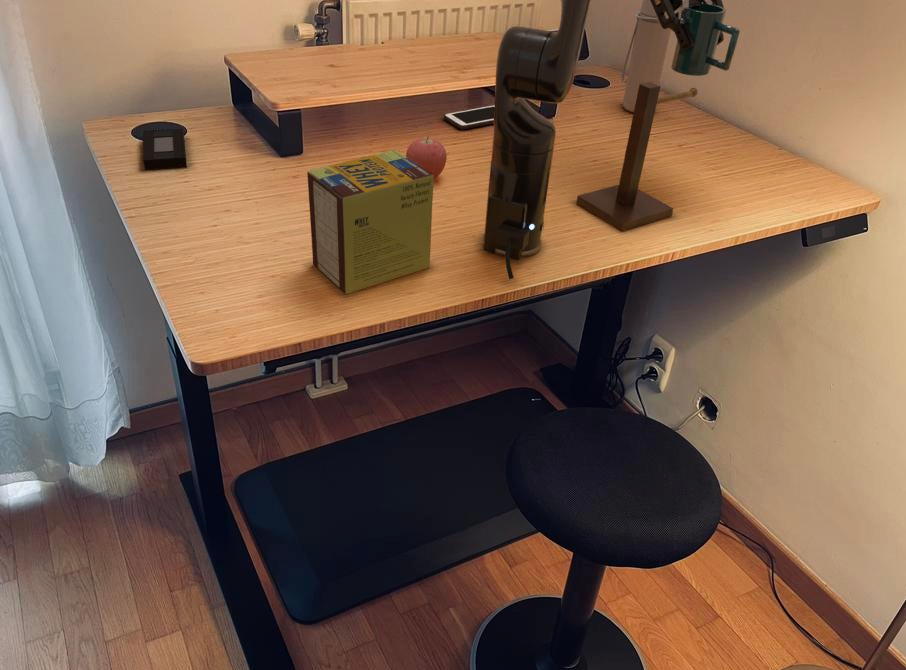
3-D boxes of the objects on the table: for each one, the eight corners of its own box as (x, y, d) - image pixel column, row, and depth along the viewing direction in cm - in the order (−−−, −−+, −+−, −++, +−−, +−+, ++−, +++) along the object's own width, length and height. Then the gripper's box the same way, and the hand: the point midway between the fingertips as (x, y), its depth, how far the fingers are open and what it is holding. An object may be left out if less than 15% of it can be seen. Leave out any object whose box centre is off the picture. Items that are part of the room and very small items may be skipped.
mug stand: (622, 231, 134) (649, 102, 120) (576, 203, 142) (597, 79, 128) (694, 209, 142) (728, 85, 128) (647, 183, 150) (674, 64, 136)
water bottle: (660, 109, 182) (686, -8, 166) (642, 117, 177) (667, -3, 161) (626, 99, 186) (649, -17, 171) (607, 106, 182) (629, -12, 166)
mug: (663, 66, 137) (677, 5, 131) (689, 62, 140) (704, 1, 134) (711, 86, 130) (728, 21, 124) (737, 80, 133) (755, 17, 127)
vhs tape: (144, 170, 145) (142, 160, 144) (145, 140, 156) (143, 130, 154) (186, 167, 147) (185, 157, 145) (184, 138, 157) (182, 128, 156)
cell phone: (441, 118, 171) (442, 114, 171) (497, 108, 178) (497, 104, 177) (461, 130, 166) (461, 126, 166) (517, 119, 172) (517, 115, 172)
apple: (418, 166, 151) (419, 125, 146) (451, 176, 149) (454, 134, 144) (398, 180, 146) (398, 138, 141) (432, 190, 144) (434, 147, 139)
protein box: (431, 268, 122) (435, 173, 112) (345, 296, 115) (342, 198, 105) (394, 239, 129) (395, 148, 119) (310, 264, 121) (305, 169, 112)
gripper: (653, -58, 127) (689, 38, 126) (715, -63, 133) (749, 29, 133) (624, -29, 133) (658, 63, 133) (684, -35, 140) (716, 53, 139)
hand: (703, 45), depth 133 cm, fingers closed on mug, 6 cm apart
